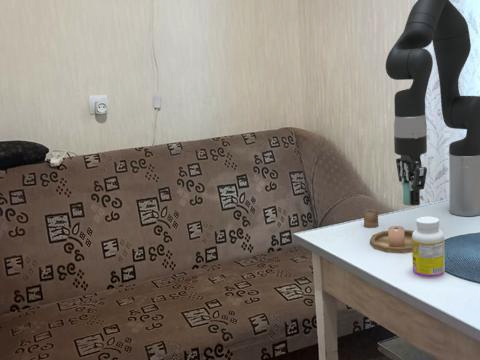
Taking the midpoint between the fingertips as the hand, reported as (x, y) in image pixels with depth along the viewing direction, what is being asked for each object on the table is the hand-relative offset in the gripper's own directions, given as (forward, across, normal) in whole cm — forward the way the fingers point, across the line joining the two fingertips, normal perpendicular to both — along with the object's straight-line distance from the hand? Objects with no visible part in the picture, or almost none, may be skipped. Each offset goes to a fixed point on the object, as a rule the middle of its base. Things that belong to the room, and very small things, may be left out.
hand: (411, 202), depth 144 cm
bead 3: (0, 0, 0) cm, 0 cm away
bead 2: (+10, +3, -5) cm, 12 cm away
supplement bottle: (+11, +19, -4) cm, 23 cm away
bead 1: (+11, -16, -5) cm, 20 cm away
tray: (+11, 0, -3) cm, 12 cm away
